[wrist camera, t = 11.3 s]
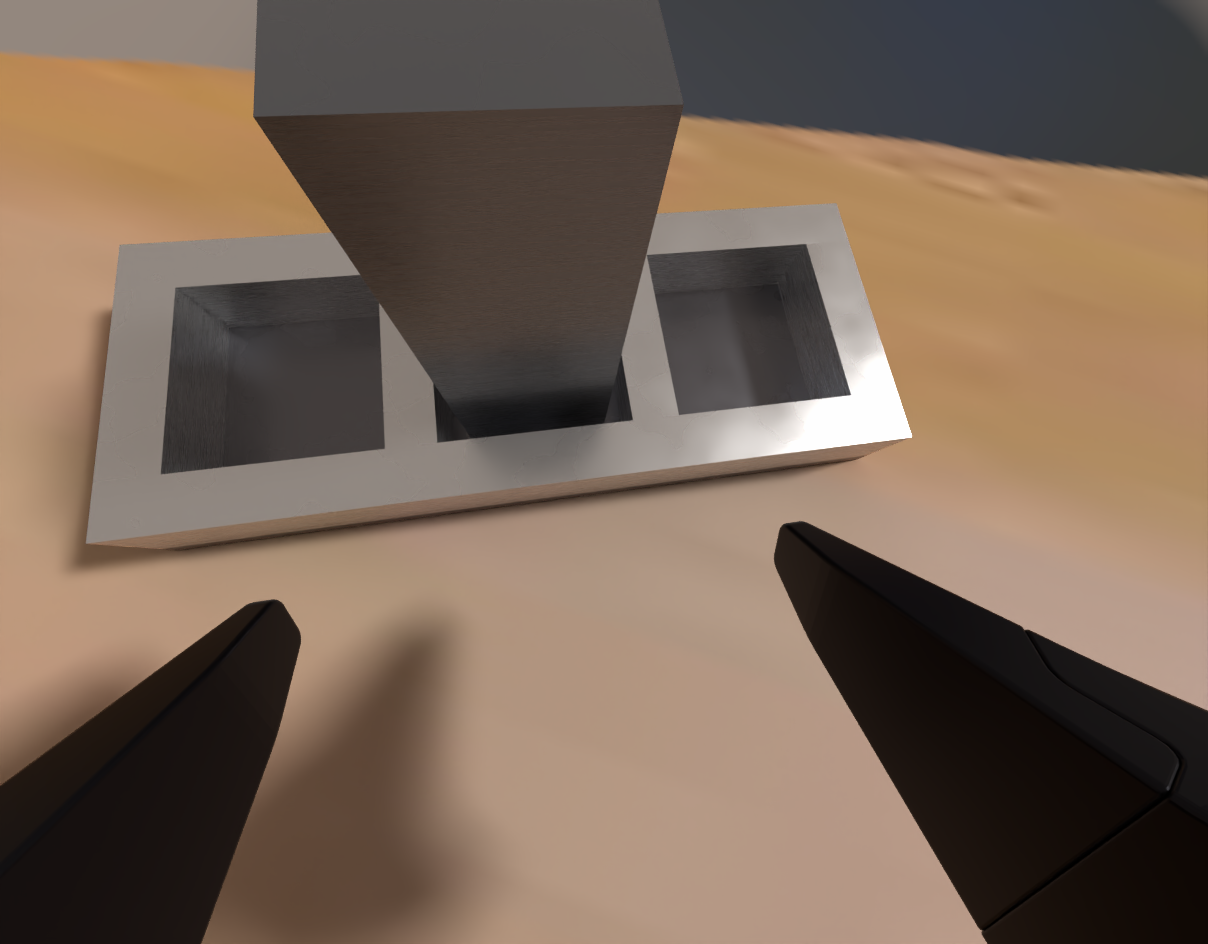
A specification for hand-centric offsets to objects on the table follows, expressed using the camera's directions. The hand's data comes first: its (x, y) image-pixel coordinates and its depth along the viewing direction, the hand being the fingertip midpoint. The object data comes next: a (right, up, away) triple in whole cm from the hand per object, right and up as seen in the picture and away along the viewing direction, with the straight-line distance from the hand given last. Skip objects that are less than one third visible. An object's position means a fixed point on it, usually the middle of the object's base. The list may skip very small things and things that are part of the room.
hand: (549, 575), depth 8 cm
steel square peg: (-2, +6, +9) cm, 11 cm away
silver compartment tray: (-2, +6, +10) cm, 12 cm away
